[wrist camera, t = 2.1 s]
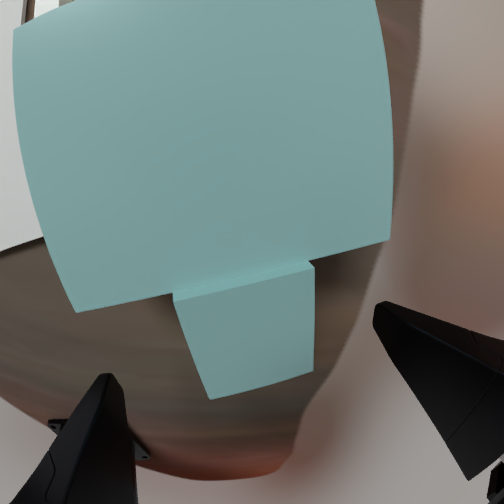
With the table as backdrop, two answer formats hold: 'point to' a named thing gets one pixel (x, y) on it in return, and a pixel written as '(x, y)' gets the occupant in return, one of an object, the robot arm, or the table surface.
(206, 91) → the lid
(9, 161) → the mat
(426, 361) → the robot arm
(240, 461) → the table surface
